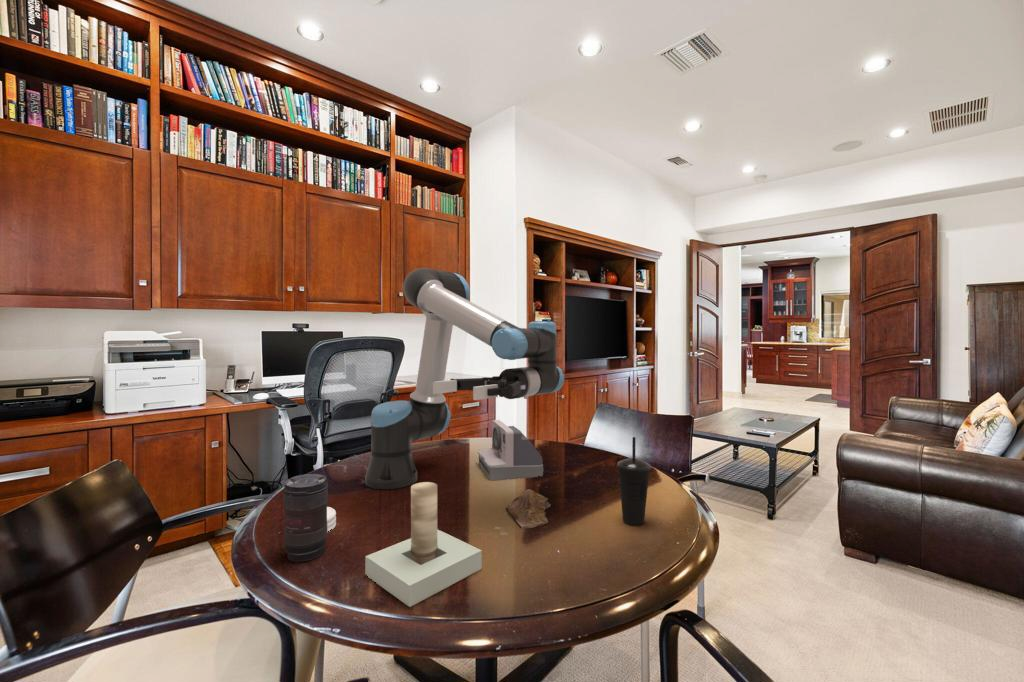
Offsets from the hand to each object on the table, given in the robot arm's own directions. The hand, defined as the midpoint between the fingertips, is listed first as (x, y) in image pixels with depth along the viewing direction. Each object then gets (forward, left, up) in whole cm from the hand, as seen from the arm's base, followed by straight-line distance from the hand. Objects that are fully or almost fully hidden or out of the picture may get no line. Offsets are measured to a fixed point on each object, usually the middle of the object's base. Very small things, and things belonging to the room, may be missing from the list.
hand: (452, 390), depth 96 cm
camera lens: (-16, -25, -32) cm, 44 cm away
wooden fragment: (+1, +24, -32) cm, 41 cm away
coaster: (-27, -19, -32) cm, 46 cm away
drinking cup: (+25, +34, -32) cm, 53 cm away
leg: (+7, -13, -32) cm, 35 cm away
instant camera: (-24, +44, -32) cm, 60 cm away
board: (+7, -13, -32) cm, 35 cm away
